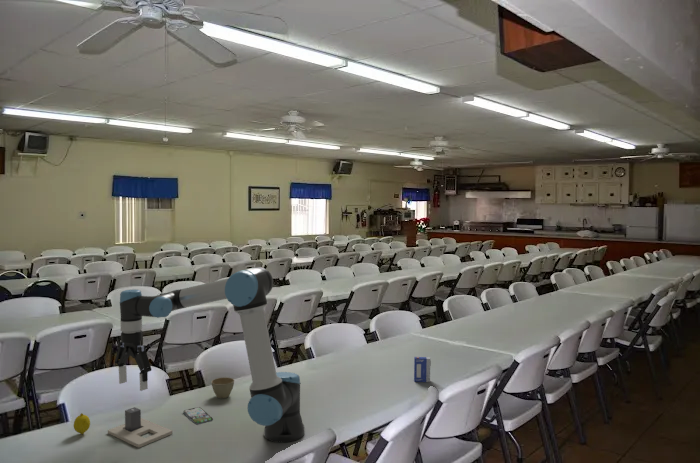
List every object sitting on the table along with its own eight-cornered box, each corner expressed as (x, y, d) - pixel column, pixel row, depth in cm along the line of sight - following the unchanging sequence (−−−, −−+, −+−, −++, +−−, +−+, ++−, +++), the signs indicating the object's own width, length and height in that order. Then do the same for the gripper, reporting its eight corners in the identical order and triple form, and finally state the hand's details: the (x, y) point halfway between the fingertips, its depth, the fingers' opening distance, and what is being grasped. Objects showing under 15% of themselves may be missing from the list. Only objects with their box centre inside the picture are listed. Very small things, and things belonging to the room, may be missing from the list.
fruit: (73, 438, 192) (72, 417, 192) (74, 432, 197) (74, 411, 197) (89, 435, 194) (89, 414, 194) (90, 429, 199) (90, 409, 199)
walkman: (414, 381, 257) (414, 357, 256) (414, 379, 259) (414, 356, 259) (430, 382, 256) (430, 358, 255) (429, 380, 259) (430, 356, 258)
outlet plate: (172, 433, 197) (172, 430, 197) (138, 447, 185) (138, 444, 185) (141, 420, 208) (141, 417, 208) (107, 433, 197) (107, 430, 197)
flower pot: (238, 396, 235) (238, 380, 235) (219, 402, 228) (219, 386, 227) (226, 390, 242) (226, 375, 242) (207, 396, 235) (207, 380, 234)
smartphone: (196, 424, 205) (182, 410, 217) (196, 426, 205) (182, 413, 217) (214, 419, 209) (199, 406, 221) (214, 422, 209) (199, 409, 221)
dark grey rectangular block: (140, 430, 200) (140, 409, 199) (131, 433, 196) (130, 412, 196) (134, 427, 202) (134, 406, 202) (125, 431, 199) (124, 410, 198)
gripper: (160, 333, 193) (161, 389, 194) (122, 324, 207) (123, 377, 208) (142, 337, 187) (143, 395, 188) (104, 328, 201) (105, 382, 202)
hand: (133, 386), depth 198 cm, fingers open, 13 cm apart
